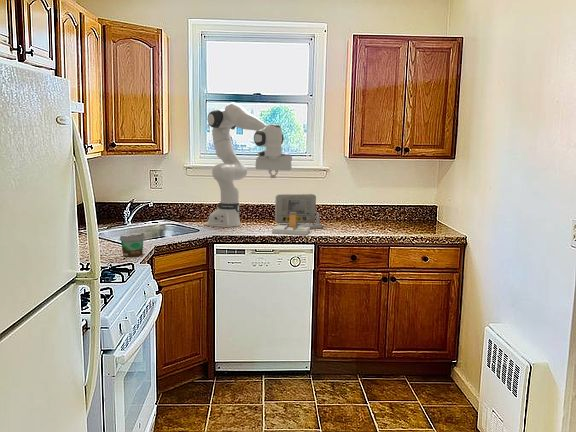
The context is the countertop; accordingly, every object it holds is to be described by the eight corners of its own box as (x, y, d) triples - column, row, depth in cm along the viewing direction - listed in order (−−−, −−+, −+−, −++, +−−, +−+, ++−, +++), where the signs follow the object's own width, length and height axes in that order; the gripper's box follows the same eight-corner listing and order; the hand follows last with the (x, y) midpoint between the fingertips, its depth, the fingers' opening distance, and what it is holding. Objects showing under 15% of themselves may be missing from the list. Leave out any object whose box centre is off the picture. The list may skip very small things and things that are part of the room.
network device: (312, 223, 359) (313, 193, 356) (316, 226, 350) (317, 195, 347) (274, 224, 352) (274, 193, 349) (277, 227, 344) (278, 195, 341)
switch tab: (288, 226, 330) (289, 212, 329) (290, 226, 333) (290, 212, 332) (295, 227, 329) (295, 213, 328) (296, 226, 332) (296, 212, 331)
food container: (127, 259, 250) (127, 237, 249) (120, 257, 254) (119, 235, 253) (150, 255, 259) (150, 234, 258) (143, 253, 263) (142, 232, 262)
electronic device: (297, 213, 342) (320, 211, 347) (298, 228, 344) (320, 227, 348) (300, 214, 337) (323, 213, 342) (300, 230, 339) (323, 228, 343)
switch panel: (272, 233, 323) (272, 227, 322) (277, 229, 336) (277, 223, 336) (305, 235, 319) (306, 229, 319) (309, 231, 333) (309, 225, 332)
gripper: (293, 153, 308) (292, 178, 310) (257, 152, 312) (257, 177, 314) (291, 154, 302) (290, 179, 304) (254, 152, 305) (254, 177, 308)
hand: (273, 178), depth 309 cm, fingers closed
